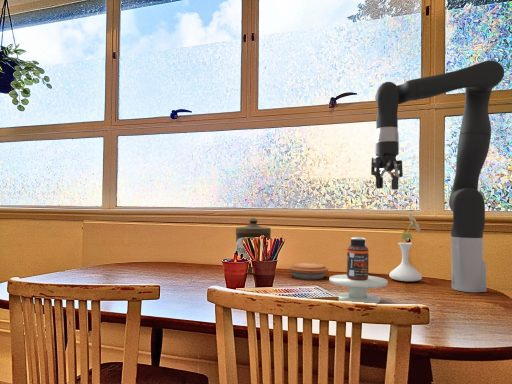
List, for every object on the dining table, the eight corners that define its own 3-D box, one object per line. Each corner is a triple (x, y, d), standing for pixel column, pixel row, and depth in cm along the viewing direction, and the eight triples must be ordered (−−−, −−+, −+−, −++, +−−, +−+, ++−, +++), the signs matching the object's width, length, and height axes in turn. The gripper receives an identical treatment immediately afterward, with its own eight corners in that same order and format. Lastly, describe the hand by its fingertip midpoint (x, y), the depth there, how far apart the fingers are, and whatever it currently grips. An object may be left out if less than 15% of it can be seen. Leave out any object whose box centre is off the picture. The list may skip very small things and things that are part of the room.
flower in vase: (410, 284, 135) (410, 212, 136) (382, 279, 144) (382, 212, 145) (430, 281, 142) (430, 213, 144) (403, 276, 152) (402, 212, 153)
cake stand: (382, 295, 117) (382, 275, 117) (392, 308, 101) (392, 285, 101) (328, 293, 119) (328, 273, 120) (329, 305, 104) (330, 282, 104)
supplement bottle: (353, 281, 107) (353, 240, 108) (343, 277, 113) (343, 238, 113) (372, 280, 109) (372, 239, 109) (361, 276, 114) (361, 238, 115)
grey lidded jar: (230, 273, 155) (231, 218, 156) (240, 268, 170) (241, 217, 171) (267, 275, 152) (267, 218, 153) (273, 269, 166) (274, 218, 167)
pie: (293, 281, 140) (293, 267, 141) (284, 274, 156) (284, 261, 156) (334, 280, 142) (334, 266, 143) (321, 273, 158) (321, 261, 158)
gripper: (383, 137, 126) (383, 187, 125) (408, 142, 134) (409, 189, 134) (364, 141, 132) (364, 188, 131) (390, 145, 140) (390, 190, 140)
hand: (387, 189), depth 132 cm, fingers open, 8 cm apart
